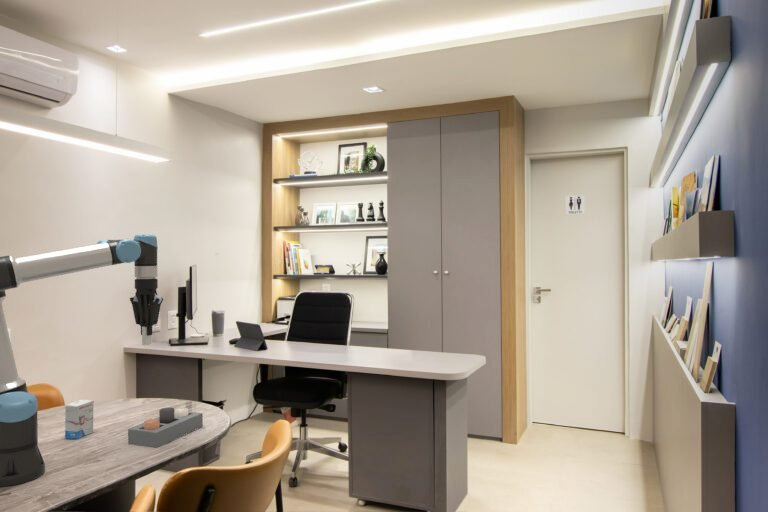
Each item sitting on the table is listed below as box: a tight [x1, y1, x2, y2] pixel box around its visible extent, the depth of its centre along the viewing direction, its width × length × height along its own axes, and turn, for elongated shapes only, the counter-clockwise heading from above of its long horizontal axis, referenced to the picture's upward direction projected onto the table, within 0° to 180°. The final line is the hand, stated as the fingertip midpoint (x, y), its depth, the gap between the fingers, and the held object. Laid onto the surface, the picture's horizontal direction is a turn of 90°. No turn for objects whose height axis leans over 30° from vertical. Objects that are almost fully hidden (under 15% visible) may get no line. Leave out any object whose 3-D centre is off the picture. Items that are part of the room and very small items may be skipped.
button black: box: [158, 407, 175, 424], centre depth 202 cm, size 5×5×6 cm
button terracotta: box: [143, 418, 160, 430], centre depth 195 cm, size 5×5×6 cm
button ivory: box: [174, 407, 189, 418], centre depth 209 cm, size 5×5×6 cm
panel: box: [127, 411, 204, 448], centre depth 202 cm, size 24×12×5 cm, turn 160°
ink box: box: [64, 399, 95, 440], centre depth 202 cm, size 9×5×12 cm, turn 168°
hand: (146, 344), depth 201 cm, fingers closed
